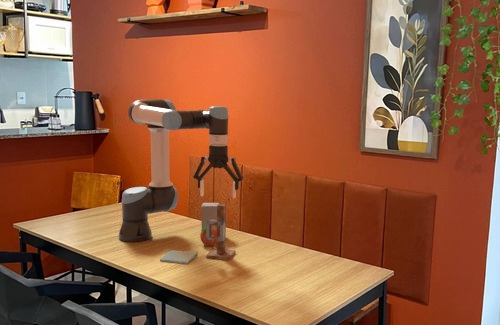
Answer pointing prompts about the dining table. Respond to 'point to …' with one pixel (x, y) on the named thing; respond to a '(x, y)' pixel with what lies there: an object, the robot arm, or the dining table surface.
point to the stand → (220, 250)
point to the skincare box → (208, 212)
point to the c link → (222, 228)
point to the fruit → (208, 242)
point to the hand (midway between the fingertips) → (218, 196)
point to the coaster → (178, 257)
